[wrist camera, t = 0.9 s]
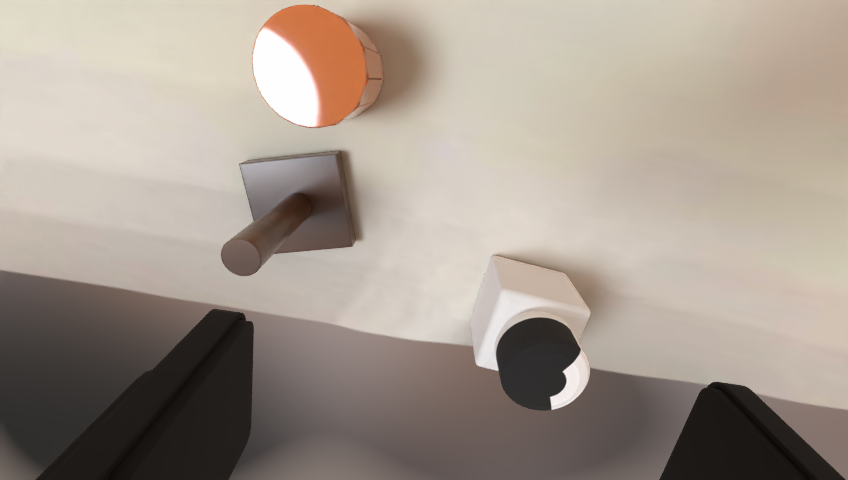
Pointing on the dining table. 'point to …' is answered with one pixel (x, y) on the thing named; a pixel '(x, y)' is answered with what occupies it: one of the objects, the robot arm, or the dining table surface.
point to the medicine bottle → (531, 333)
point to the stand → (291, 209)
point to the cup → (315, 66)
